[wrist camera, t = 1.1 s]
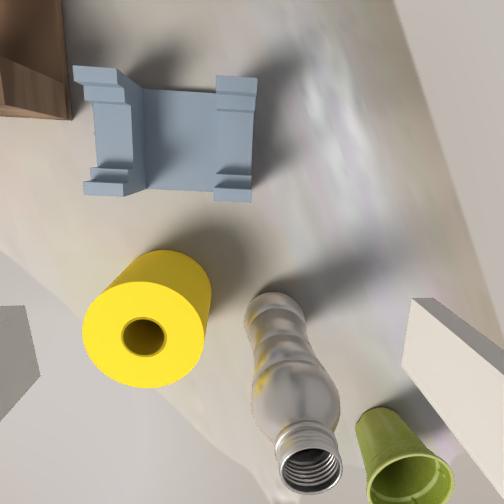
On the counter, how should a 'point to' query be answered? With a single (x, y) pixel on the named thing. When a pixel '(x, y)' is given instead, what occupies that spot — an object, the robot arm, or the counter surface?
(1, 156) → the counter surface
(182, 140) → the blue notched cradle
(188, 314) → the yellow hollow cylinder
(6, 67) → the bearing stand
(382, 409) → the plant pot
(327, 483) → the metal bottle
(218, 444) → the counter surface
